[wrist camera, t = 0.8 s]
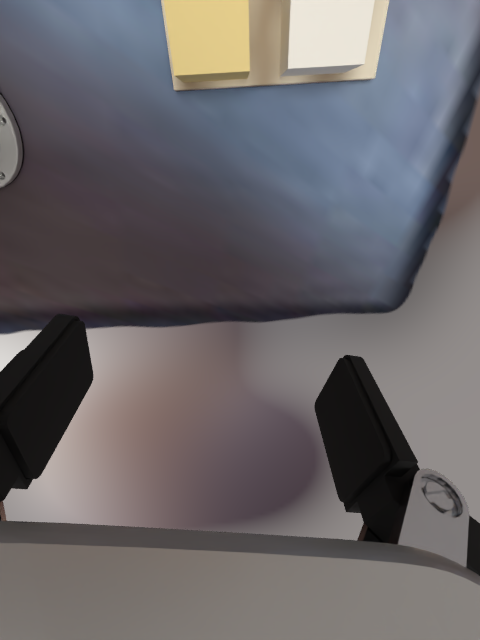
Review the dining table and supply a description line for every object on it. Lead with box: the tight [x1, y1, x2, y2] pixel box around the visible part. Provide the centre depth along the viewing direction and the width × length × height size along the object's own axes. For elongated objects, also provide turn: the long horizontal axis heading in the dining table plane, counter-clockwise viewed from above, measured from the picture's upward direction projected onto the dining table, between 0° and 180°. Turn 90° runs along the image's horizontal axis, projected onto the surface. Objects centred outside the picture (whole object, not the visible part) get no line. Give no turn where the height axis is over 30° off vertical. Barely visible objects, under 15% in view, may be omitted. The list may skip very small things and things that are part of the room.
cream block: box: [279, 0, 375, 77], centre depth 22 cm, size 6×6×5 cm
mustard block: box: [164, 0, 250, 83], centre depth 22 cm, size 6×6×5 cm
